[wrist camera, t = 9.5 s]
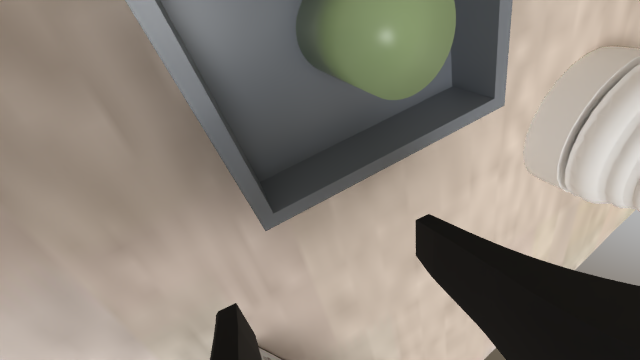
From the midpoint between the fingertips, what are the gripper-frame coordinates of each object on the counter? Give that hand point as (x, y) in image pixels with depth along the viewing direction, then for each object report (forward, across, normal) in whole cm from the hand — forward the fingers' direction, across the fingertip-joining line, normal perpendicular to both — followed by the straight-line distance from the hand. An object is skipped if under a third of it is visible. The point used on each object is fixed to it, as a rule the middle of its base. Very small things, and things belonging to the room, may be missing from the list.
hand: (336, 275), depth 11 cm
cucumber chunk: (+9, -5, -7) cm, 12 cm away
